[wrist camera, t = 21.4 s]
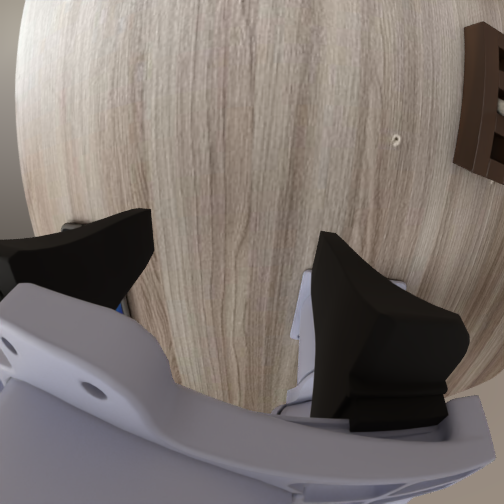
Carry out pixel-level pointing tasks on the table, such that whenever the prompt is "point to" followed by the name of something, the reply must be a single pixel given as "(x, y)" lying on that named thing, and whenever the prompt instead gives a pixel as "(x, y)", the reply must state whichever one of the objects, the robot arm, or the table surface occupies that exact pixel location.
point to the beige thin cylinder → (500, 107)
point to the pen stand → (482, 104)
